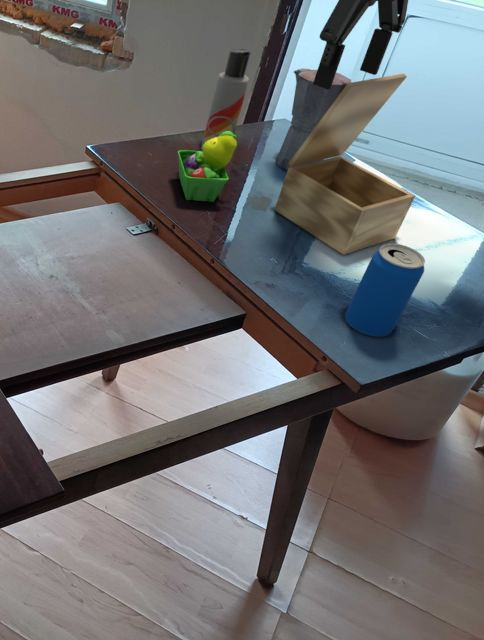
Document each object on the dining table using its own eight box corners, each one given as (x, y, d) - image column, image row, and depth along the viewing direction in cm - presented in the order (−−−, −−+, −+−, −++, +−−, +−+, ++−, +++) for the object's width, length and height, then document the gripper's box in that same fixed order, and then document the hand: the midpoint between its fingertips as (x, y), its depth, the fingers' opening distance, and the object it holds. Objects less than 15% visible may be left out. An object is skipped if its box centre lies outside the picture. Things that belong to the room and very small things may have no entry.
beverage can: (368, 308, 101) (402, 238, 93) (400, 335, 96) (439, 264, 89) (333, 316, 99) (365, 246, 91) (365, 344, 95) (401, 272, 87)
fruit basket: (171, 174, 131) (184, 116, 123) (217, 177, 131) (233, 120, 123) (179, 203, 122) (193, 143, 115) (229, 207, 122) (246, 147, 115)
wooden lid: (407, 76, 106) (404, 73, 107) (351, 86, 101) (348, 82, 102) (342, 155, 120) (339, 151, 120) (290, 167, 115) (287, 163, 115)
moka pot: (281, 146, 143) (313, 47, 130) (347, 175, 135) (389, 72, 122) (254, 157, 139) (284, 55, 125) (321, 188, 130) (361, 82, 117)
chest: (393, 242, 116) (415, 195, 110) (341, 258, 111) (362, 210, 105) (323, 200, 126) (340, 155, 120) (272, 213, 121) (288, 167, 115)
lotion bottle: (215, 159, 137) (243, 56, 124) (194, 149, 140) (219, 47, 127) (234, 153, 139) (263, 51, 126) (213, 143, 143) (239, 42, 130)
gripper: (419, -82, 106) (366, 60, 119) (327, -72, 93) (280, 85, 107) (467, -74, 101) (406, 73, 115) (377, -62, 89) (321, 100, 103)
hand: (345, 79), depth 111 cm, fingers open, 13 cm apart
